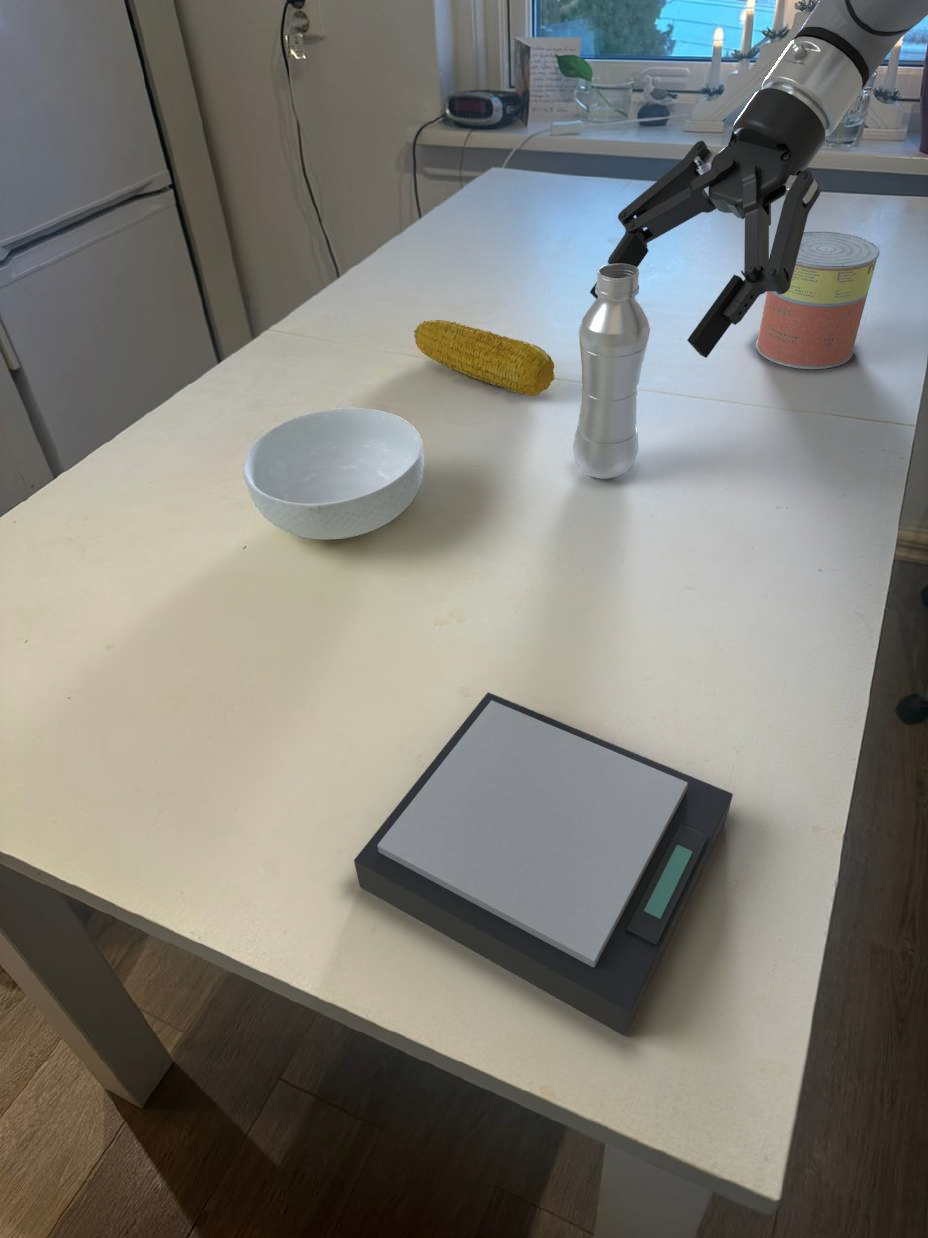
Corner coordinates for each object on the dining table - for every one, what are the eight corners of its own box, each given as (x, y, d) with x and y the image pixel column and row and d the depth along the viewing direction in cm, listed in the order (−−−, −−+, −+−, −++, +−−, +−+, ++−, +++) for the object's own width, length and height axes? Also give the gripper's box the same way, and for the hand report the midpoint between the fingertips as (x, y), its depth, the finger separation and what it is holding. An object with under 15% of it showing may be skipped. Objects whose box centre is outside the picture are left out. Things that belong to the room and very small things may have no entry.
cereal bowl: (310, 456, 94) (298, 395, 89) (454, 481, 89) (450, 419, 84) (223, 547, 82) (204, 484, 77) (383, 582, 77) (374, 516, 72)
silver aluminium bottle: (559, 475, 89) (566, 277, 75) (591, 445, 93) (603, 252, 79) (617, 493, 86) (634, 291, 72) (647, 462, 90) (669, 264, 76)
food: (560, 391, 102) (562, 342, 98) (530, 410, 99) (530, 360, 95) (430, 344, 113) (427, 298, 109) (399, 360, 110) (395, 313, 106)
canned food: (872, 360, 104) (901, 257, 96) (787, 375, 102) (810, 272, 94) (818, 323, 112) (840, 225, 104) (738, 337, 110) (755, 239, 102)
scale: (725, 821, 57) (735, 785, 55) (625, 1037, 47) (631, 1005, 45) (489, 719, 65) (487, 683, 62) (359, 887, 55) (351, 853, 52)
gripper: (675, 63, 82) (543, 262, 86) (903, 108, 66) (726, 351, 70) (709, 117, 87) (583, 302, 92) (927, 171, 71) (761, 392, 76)
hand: (644, 323), depth 81 cm, fingers open, 13 cm apart
